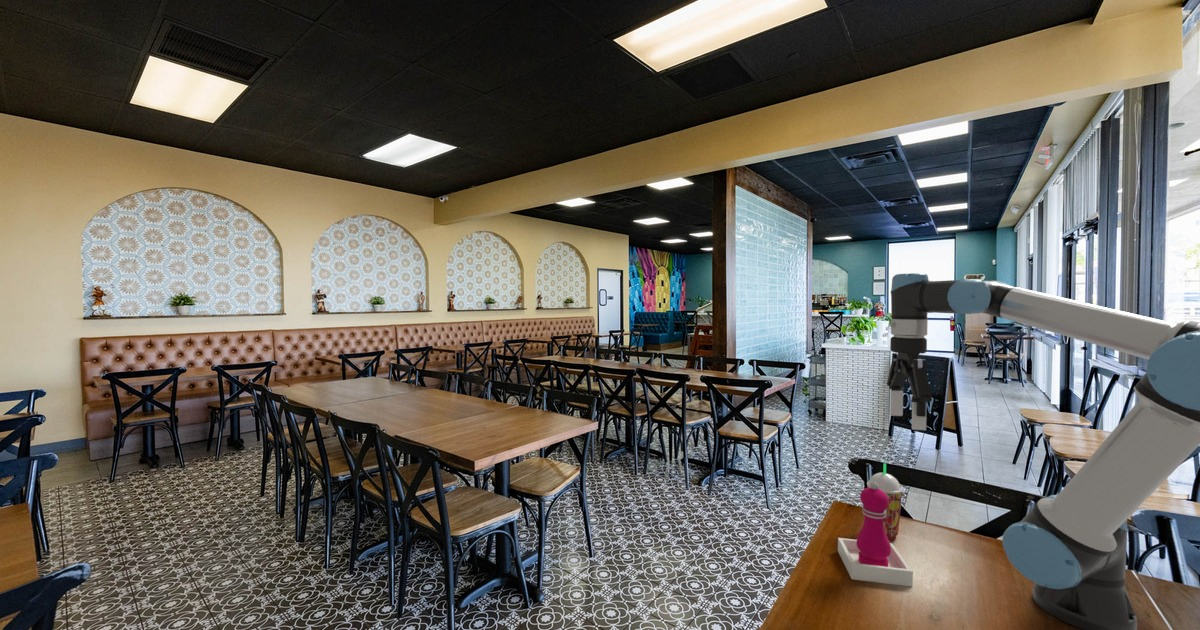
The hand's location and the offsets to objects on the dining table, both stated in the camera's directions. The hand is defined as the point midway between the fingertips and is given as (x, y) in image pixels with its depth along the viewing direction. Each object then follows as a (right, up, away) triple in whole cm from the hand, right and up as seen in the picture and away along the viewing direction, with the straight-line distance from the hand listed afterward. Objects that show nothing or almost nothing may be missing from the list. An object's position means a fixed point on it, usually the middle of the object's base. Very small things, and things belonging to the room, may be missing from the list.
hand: (906, 422), depth 117 cm
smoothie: (+2, -34, +13) cm, 37 cm away
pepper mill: (-10, -34, -2) cm, 35 cm away
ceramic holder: (-10, -35, -2) cm, 36 cm away
